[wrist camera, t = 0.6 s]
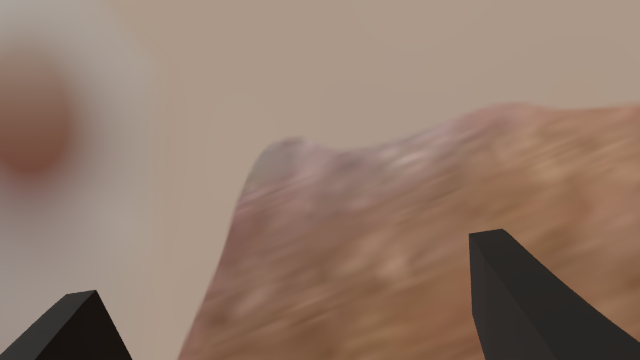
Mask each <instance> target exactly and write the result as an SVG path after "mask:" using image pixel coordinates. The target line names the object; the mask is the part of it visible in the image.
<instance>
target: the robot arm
mask: <svg viewBox="0 0 640 360" xmlns="http://www.w3.org/2000/svg"><path fill="white" fill-rule="evenodd" d="M469 250H470V273H471V295H472V315H473V318H474V322H475V325H476V329H477V332H478V336H479V339H480V343H481V346H482V349H483V353H484V356H485V359H486V360H640V342H638V341H637V340H636V339H634V338H633V337H632V336H630V335H629V334H628V333H626V332H625V331H624V330H622V329H621V328H619V327H618V326H617V325H615V324H614V323H613V322H611V321H610V320H609V319H608V318H606V317H605V316H604V315H602V314H601V313H600V312H599V311H597V310H596V309H595V308H593V307H592V306H591V305H590V304H589V303H587V302H586V301H585V300H584V299H582V298H581V297H580V296H579V295H578V294H576V293H575V292H574V291H573V290H571V289H570V288H569V287H568V286H567V285H565V284H564V283H563V282H562V281H561V280H560V279H558V278H557V277H556V276H555V275H554V274H553V273H551V272H550V271H549V270H548V269H547V268H546V267H545V266H544V265H542V264H541V263H540V262H539V261H538V260H537V259H536V258H535V257H533V256H532V255H531V254H530V253H529V252H528V251H527V250H526V249H525V248H524V247H523V246H522V245H520V244H519V243H518V242H517V241H516V240H515V239H514V238H513V237H512V236H511V235H510V234H509V233H507V232H506V231H505V230H503V229H497V230H491V231H484V232H477V233H471V234H469ZM0 360H132V358H131V356H130V354H129V352H128V350H127V349H126V346H125V345H124V343H123V341H122V339H121V337H120V335H119V333H118V331H117V329H116V327H115V325H114V324H113V322H112V319H111V318H110V316H109V314H108V312H107V310H106V308H105V306H104V304H103V302H102V300H101V298H100V296H99V294H98V292H97V291H96V290H92V291H85V292H78V293H72V294H66V295H65V296H64V297H63V298H61V299H60V300H59V301H58V302H57V303H55V304H54V305H53V306H52V307H51V308H50V309H49V310H48V311H46V312H45V313H44V314H43V315H42V316H41V317H40V318H39V319H38V320H37V321H36V322H35V323H33V324H32V325H31V326H30V327H29V328H28V329H27V330H26V331H25V332H24V333H23V334H22V335H21V336H20V337H19V338H18V339H16V341H14V342H13V343H12V344H11V345H10V346H9V347H8V348H7V349H6V350H5V351H4V352H3V353H2V354H1V355H0Z"/></svg>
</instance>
